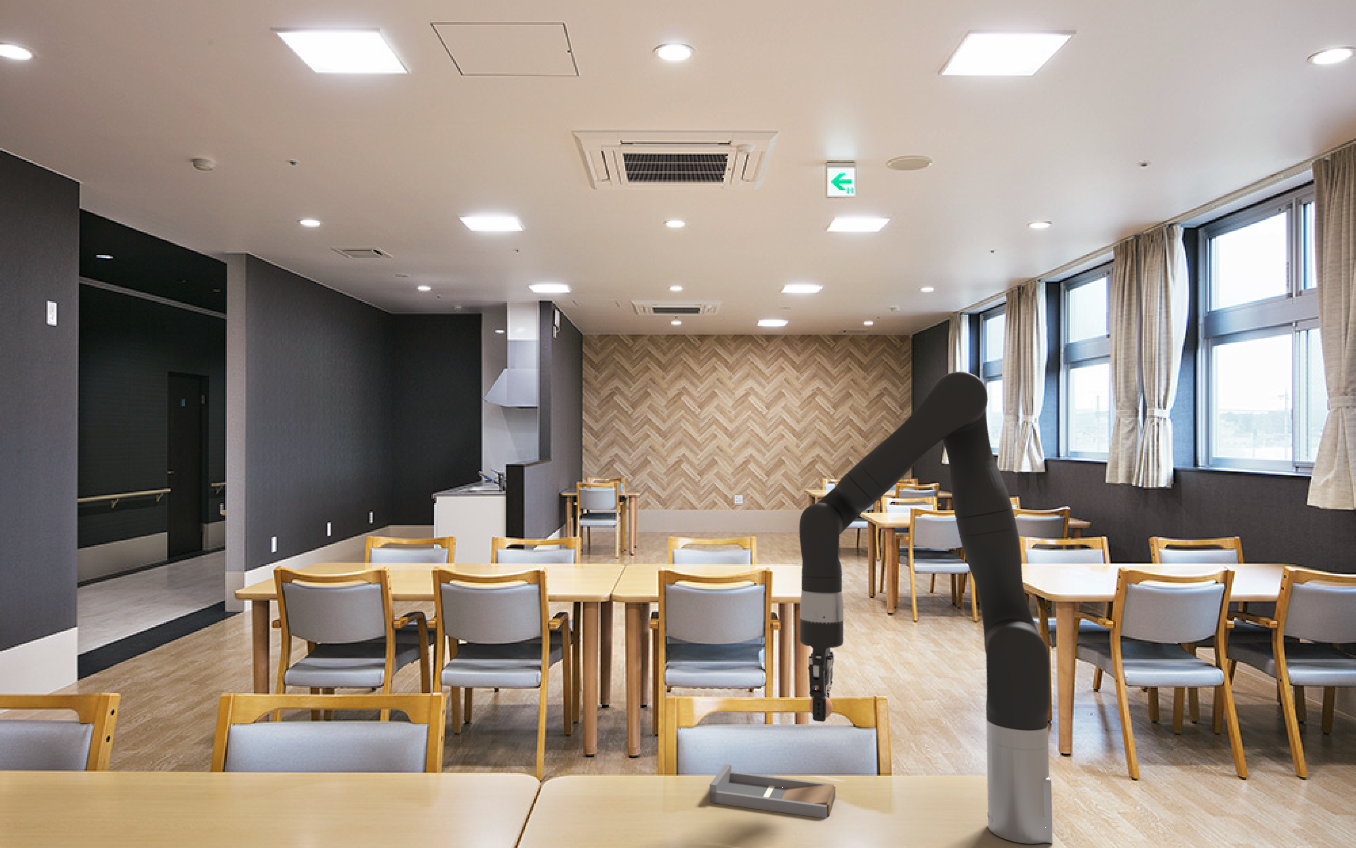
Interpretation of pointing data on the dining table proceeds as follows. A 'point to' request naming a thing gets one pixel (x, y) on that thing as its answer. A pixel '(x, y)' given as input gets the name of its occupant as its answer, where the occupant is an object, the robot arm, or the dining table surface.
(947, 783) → the dining table surface
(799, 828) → the dining table surface
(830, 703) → the ball
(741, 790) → the lane
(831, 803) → the ramp
